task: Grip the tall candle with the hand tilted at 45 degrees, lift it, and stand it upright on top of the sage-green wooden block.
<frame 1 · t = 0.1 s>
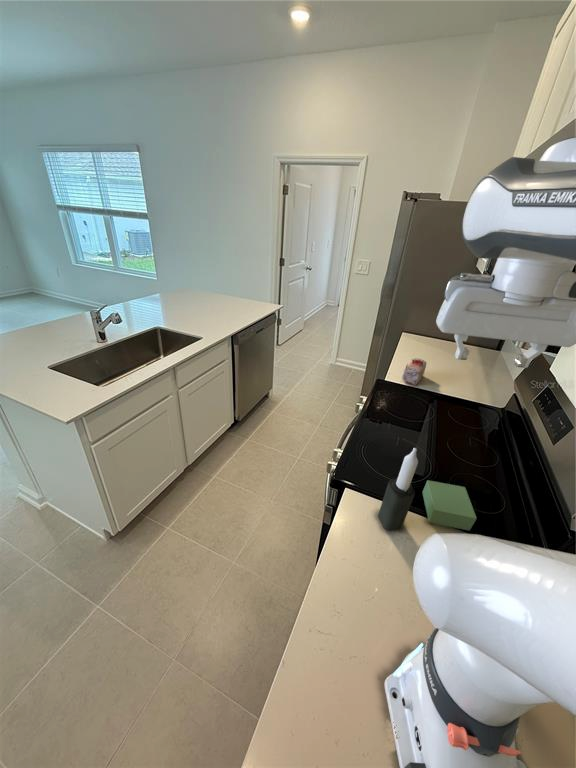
hand: (489, 362, 52), 48 cm above the worktop, tool pointing down, fingers open, 8 cm apart
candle: (389, 521, 80), on the worktop
green block: (444, 510, 83), on the worktop
food item: (412, 379, 147), on the worktop
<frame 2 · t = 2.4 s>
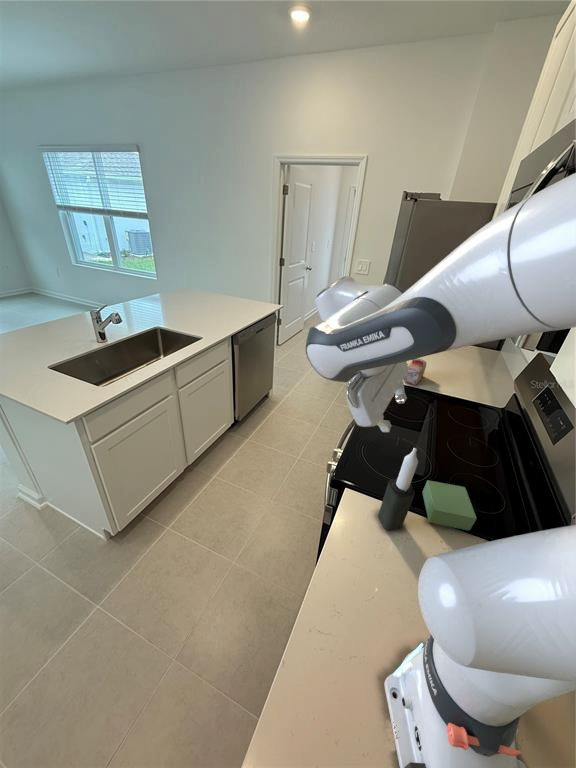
hand: (395, 415, 64), 33 cm above the worktop, tool tilted 35°, fingers open, 8 cm apart
nothing on the worktop moved.
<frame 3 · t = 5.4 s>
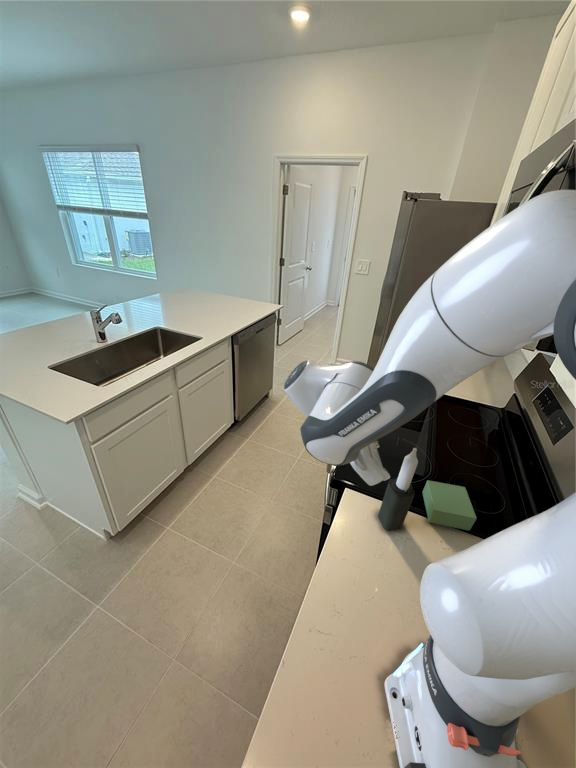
hand: (381, 460, 69), 21 cm above the worktop, tool tilted 45°, fingers open, 8 cm apart
nothing on the worktop moved.
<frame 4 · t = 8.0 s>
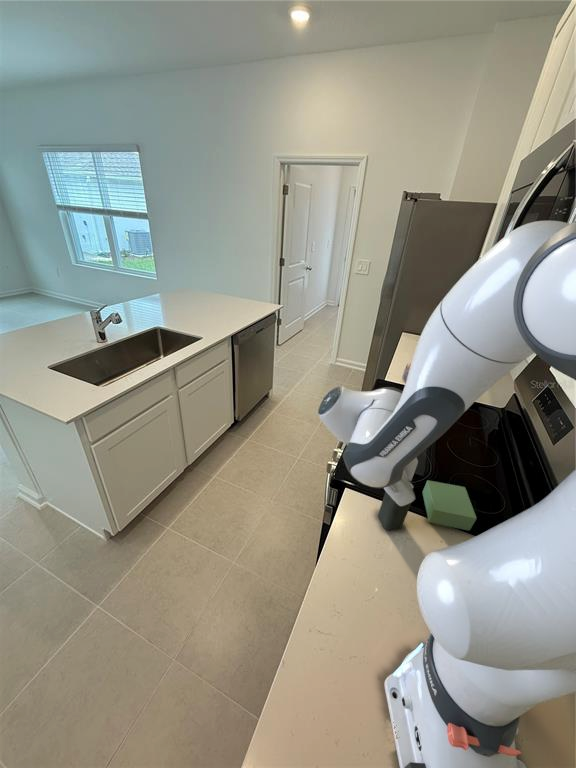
hand: (407, 479, 72), 15 cm above the worktop, tool tilted 45°, fingers closed on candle, 3 cm apart
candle: (389, 521, 80), on the worktop, touching gripper
everything else where it was.
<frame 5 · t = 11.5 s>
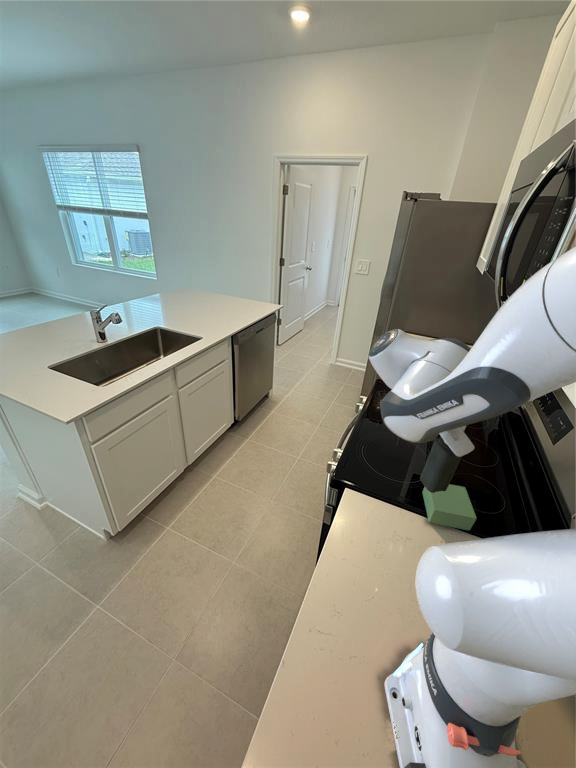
hand: (456, 435, 68), 27 cm above the worktop, tool tilted 45°, fingers closed on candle, 3 cm apart
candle: (432, 484, 75), point 12 cm above the worktop, touching gripper
everything else where it was.
when the fingers open (20 cm above the worktop, at t = 15.3 s): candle stays where it is, resting on green block.
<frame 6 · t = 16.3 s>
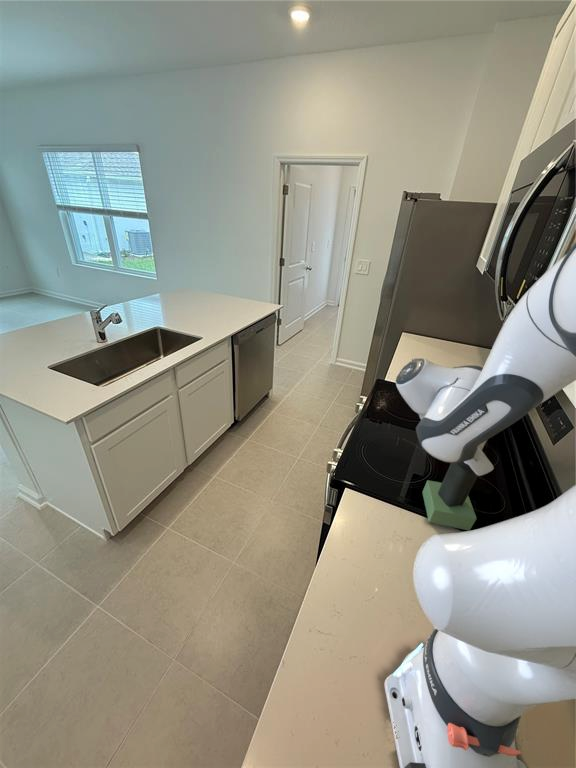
hand: (474, 453, 73), 21 cm above the worktop, tool tilted 45°, fingers open, 8 cm apart
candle: (450, 498, 81), point 5 cm above the worktop, touching green block
everything else where it was.
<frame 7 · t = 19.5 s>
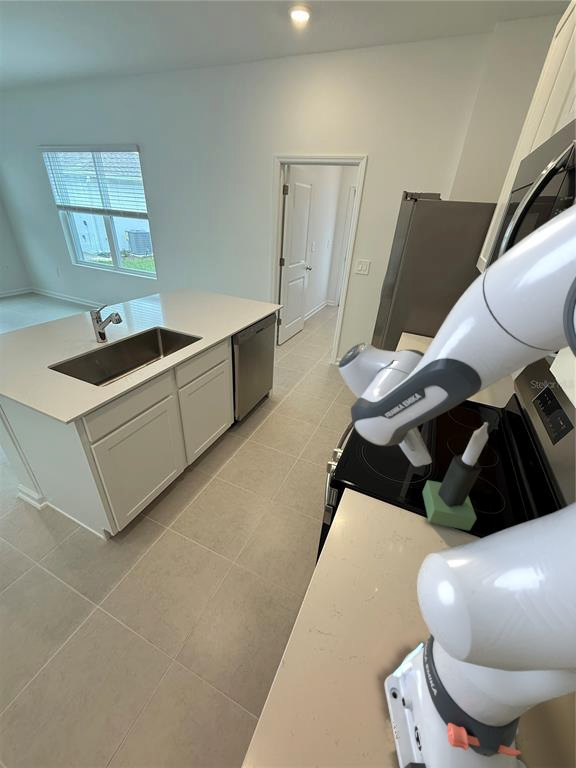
hand: (421, 446, 71), 22 cm above the worktop, tool tilted 40°, fingers open, 8 cm apart
nothing on the worktop moved.
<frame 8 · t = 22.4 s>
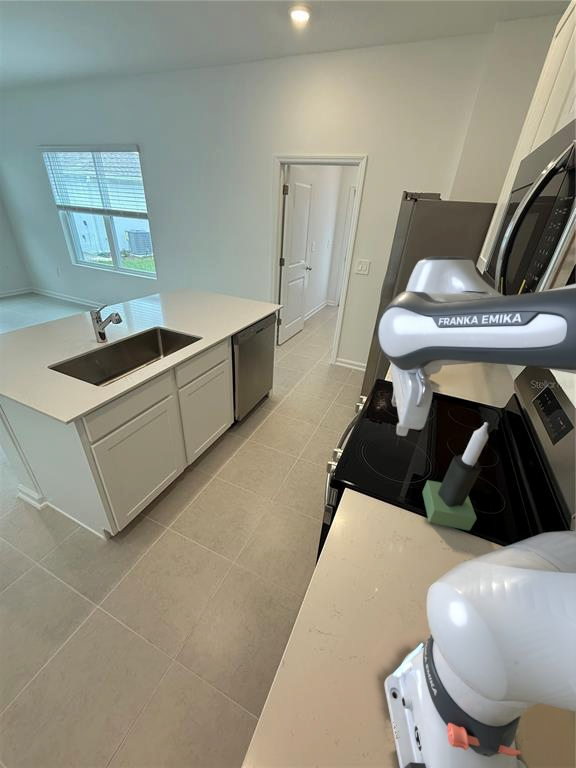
hand: (398, 418, 60), 34 cm above the worktop, tool pointing down, fingers open, 8 cm apart
nothing on the worktop moved.
at the end: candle 0.0 cm off-centre on the green block, point 4.8 cm above the green block's base; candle tilted 0°; the gripper is holding nothing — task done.
